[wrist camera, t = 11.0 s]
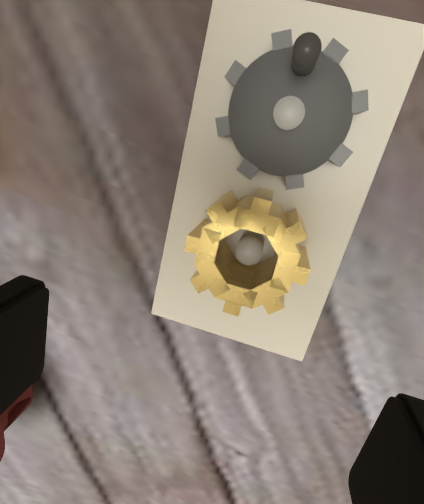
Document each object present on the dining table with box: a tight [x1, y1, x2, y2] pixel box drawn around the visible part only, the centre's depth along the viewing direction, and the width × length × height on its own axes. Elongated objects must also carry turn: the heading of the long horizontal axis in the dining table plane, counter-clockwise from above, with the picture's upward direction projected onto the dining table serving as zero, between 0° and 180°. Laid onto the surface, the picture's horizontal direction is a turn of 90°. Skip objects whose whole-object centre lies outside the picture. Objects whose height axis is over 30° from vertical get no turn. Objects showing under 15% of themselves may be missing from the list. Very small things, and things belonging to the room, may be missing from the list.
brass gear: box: [184, 187, 311, 316], centre depth 21 cm, size 7×7×4 cm
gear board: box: [151, 0, 424, 361], centre depth 21 cm, size 22×12×7 cm, turn 167°
